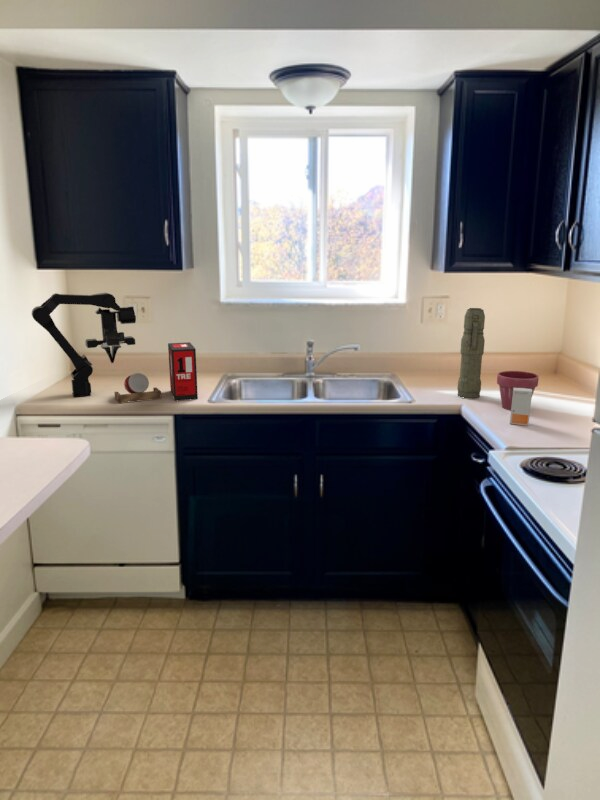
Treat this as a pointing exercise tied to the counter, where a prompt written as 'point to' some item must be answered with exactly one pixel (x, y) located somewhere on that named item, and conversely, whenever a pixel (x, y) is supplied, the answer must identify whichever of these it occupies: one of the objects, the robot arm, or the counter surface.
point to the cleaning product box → (183, 371)
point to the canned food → (136, 383)
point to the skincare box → (521, 406)
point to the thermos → (471, 354)
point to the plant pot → (514, 384)
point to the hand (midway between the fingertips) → (112, 362)
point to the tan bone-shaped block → (138, 396)
